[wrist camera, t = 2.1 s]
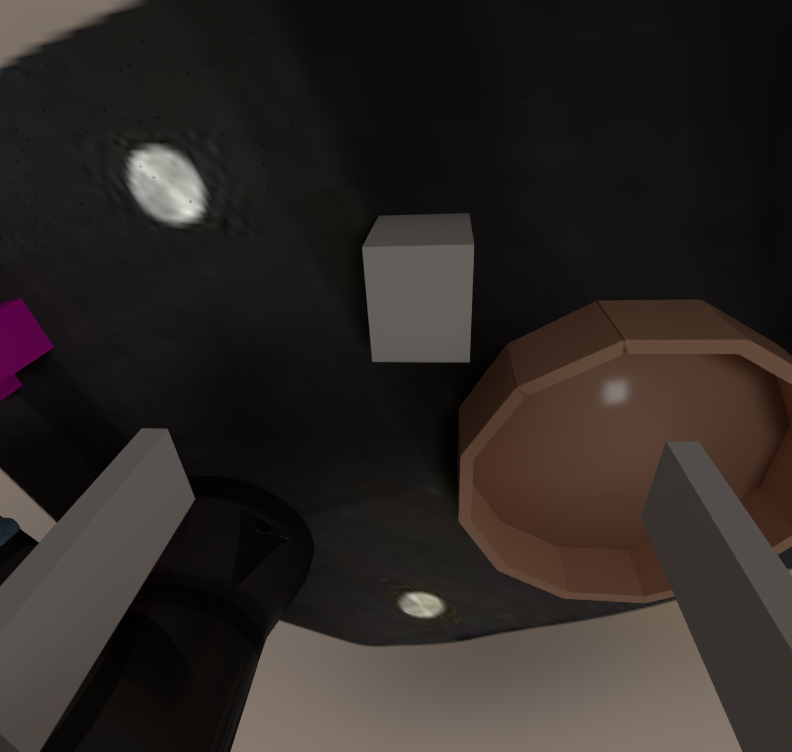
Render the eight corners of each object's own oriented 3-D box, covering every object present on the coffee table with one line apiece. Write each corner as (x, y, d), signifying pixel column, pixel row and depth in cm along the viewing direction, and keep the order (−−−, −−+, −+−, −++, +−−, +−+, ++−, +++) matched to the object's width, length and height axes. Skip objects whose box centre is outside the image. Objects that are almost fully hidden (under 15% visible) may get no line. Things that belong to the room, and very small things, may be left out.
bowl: (455, 538, 40) (456, 592, 35) (461, 302, 28) (463, 340, 24) (727, 550, 37) (762, 609, 33) (852, 297, 26) (931, 339, 22)
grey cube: (385, 314, 29) (372, 361, 24) (378, 215, 26) (361, 247, 21) (465, 313, 29) (469, 362, 24) (468, 212, 25) (474, 244, 20)
